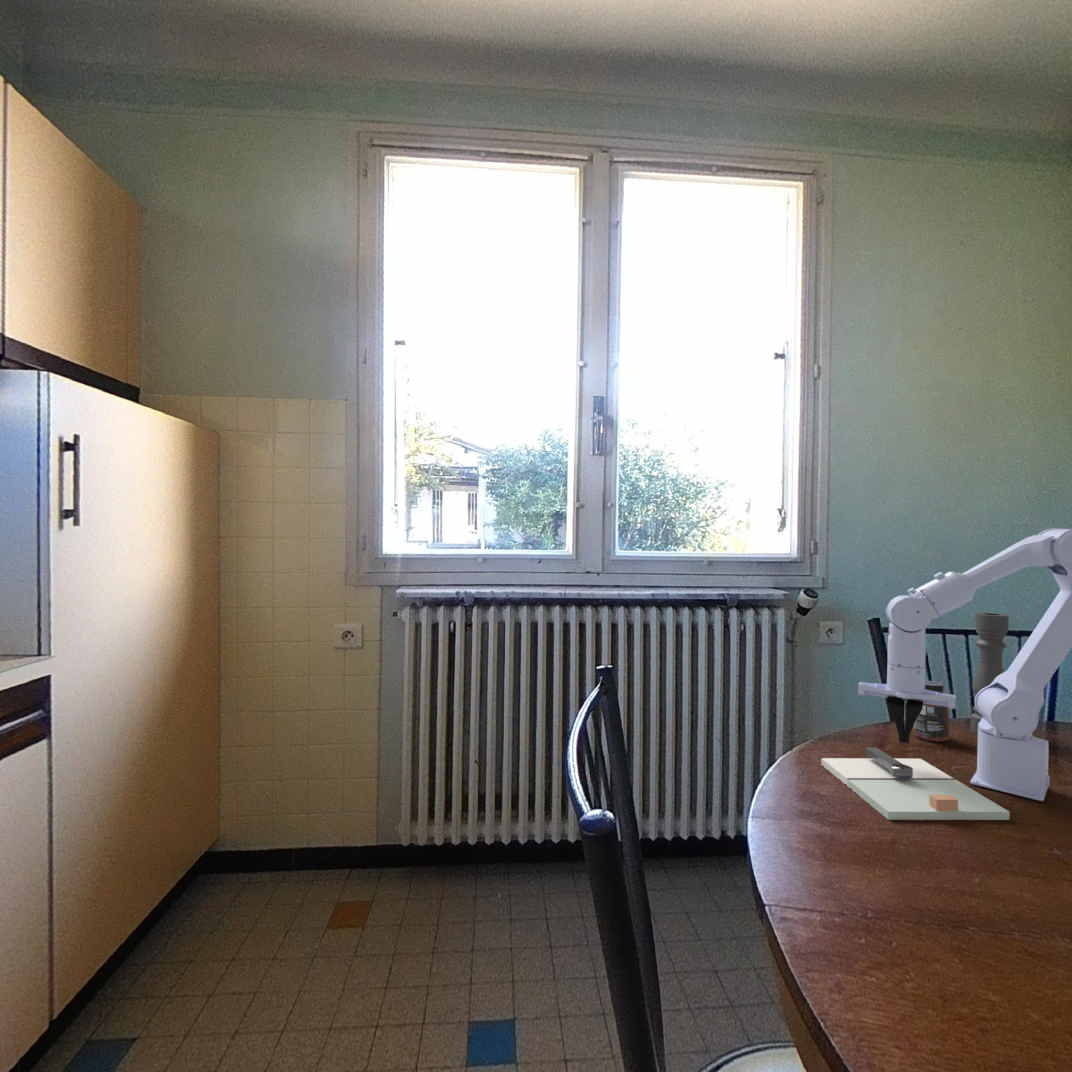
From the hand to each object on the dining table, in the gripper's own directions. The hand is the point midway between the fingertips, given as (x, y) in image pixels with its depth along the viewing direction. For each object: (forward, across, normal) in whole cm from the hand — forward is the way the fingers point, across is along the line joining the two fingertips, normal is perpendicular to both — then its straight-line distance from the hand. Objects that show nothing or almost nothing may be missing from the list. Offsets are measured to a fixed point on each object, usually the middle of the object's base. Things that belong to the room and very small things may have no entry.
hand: (904, 741), depth 108 cm
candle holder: (+5, +14, +34) cm, 37 cm away
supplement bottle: (+6, +4, +23) cm, 24 cm away
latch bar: (+3, -2, -4) cm, 6 cm away
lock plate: (+5, +1, -9) cm, 10 cm away
